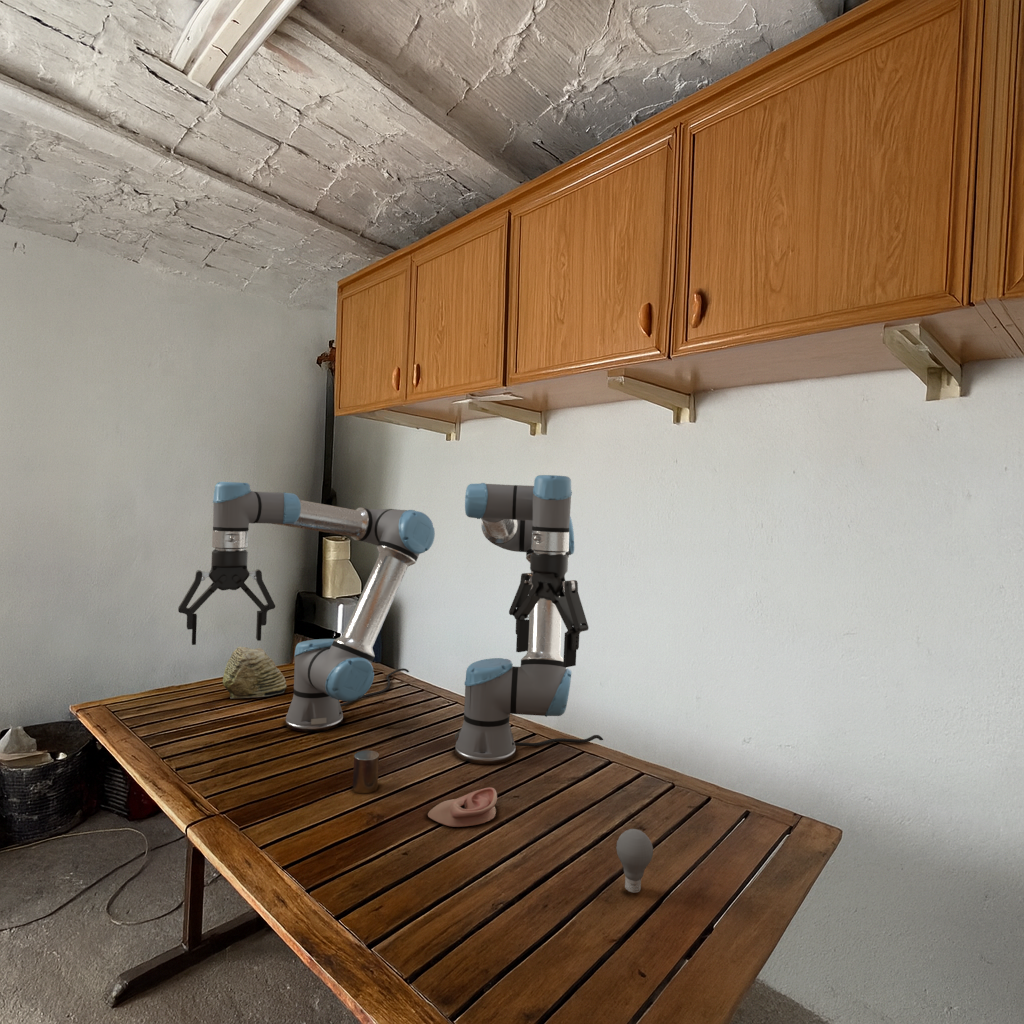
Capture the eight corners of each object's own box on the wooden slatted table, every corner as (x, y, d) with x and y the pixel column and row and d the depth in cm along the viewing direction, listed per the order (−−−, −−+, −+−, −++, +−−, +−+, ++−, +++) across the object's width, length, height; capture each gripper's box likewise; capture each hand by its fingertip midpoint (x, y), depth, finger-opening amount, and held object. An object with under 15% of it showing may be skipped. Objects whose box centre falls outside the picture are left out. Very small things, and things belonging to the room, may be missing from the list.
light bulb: (610, 879, 108) (613, 822, 108) (644, 879, 109) (647, 822, 109) (619, 902, 102) (622, 840, 102) (655, 901, 103) (658, 840, 103)
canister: (365, 780, 142) (366, 748, 142) (382, 786, 140) (383, 754, 139) (347, 788, 138) (348, 755, 138) (365, 795, 135) (366, 762, 135)
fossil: (218, 695, 195) (220, 647, 195) (278, 685, 208) (279, 640, 207) (228, 703, 189) (230, 653, 188) (289, 692, 201) (290, 645, 201)
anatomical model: (423, 802, 125) (441, 778, 136) (422, 822, 125) (440, 796, 136) (488, 812, 122) (501, 786, 133) (487, 832, 122) (500, 805, 133)
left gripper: (168, 550, 136) (164, 649, 136) (289, 550, 148) (286, 641, 148) (168, 547, 142) (164, 641, 143) (284, 547, 154) (281, 634, 155)
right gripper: (495, 547, 133) (491, 647, 134) (583, 559, 115) (577, 676, 115) (521, 547, 138) (517, 643, 139) (610, 558, 119) (604, 670, 120)
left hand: (226, 641), depth 145 cm, fingers open, 13 cm apart
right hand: (544, 658), depth 127 cm, fingers open, 13 cm apart
